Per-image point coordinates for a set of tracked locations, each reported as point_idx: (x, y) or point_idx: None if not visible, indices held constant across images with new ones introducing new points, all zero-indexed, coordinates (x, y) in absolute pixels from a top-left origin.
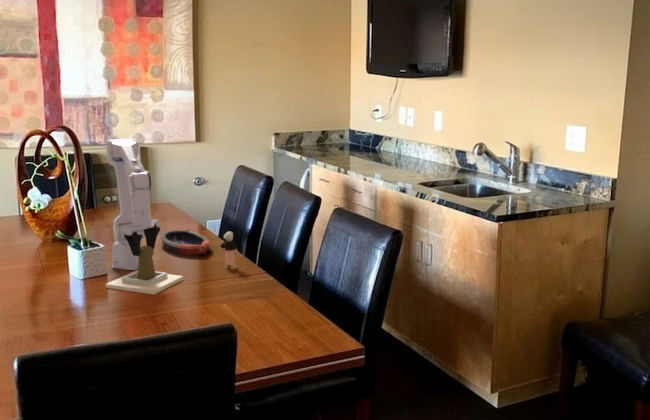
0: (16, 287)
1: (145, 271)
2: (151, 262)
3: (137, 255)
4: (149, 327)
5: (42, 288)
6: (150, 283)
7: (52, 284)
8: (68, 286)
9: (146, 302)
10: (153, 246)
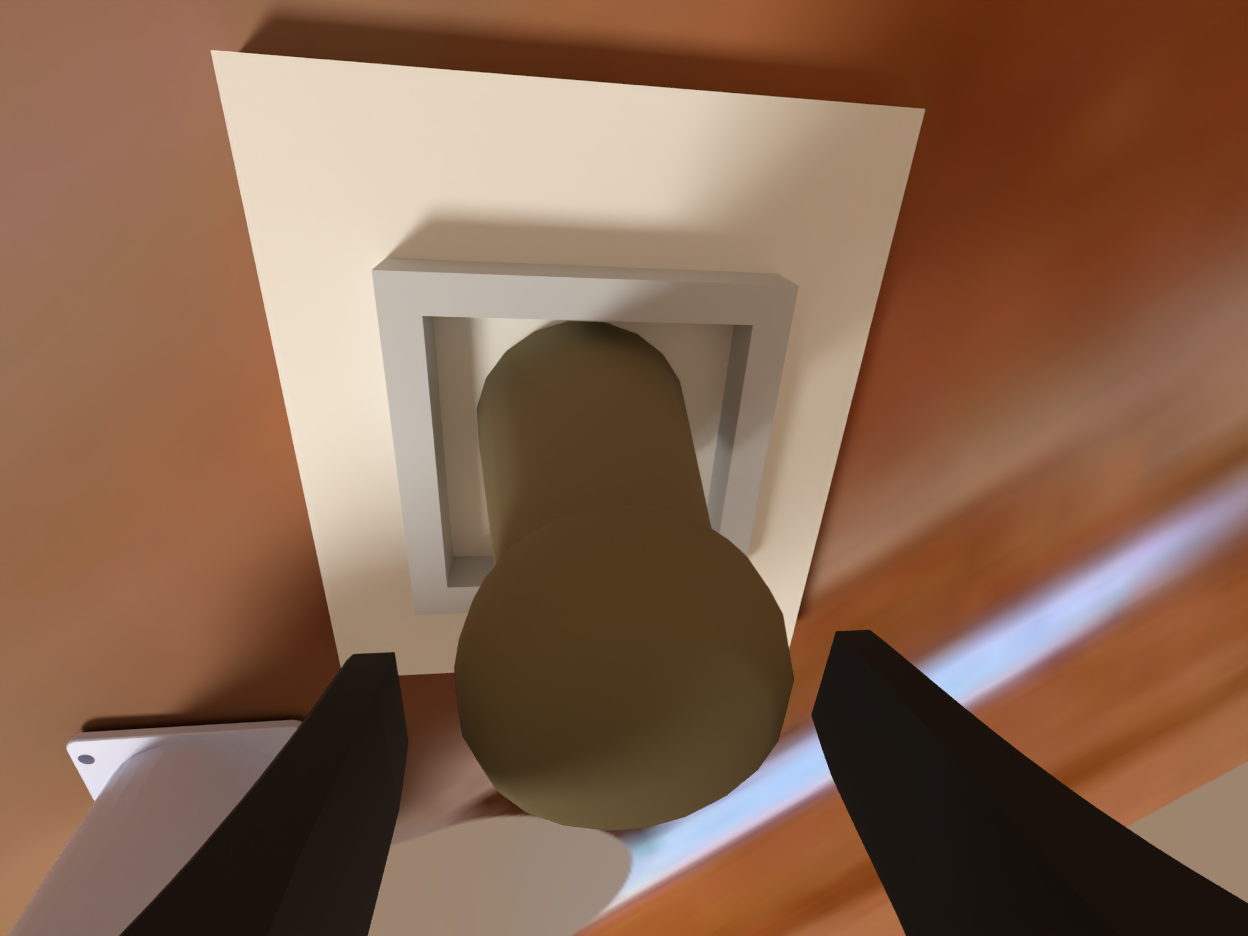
0: None
1: (689, 437)
2: (613, 451)
3: (875, 644)
4: None
5: (853, 872)
6: (752, 276)
7: (779, 880)
8: (796, 810)
9: (1161, 35)
10: (374, 700)
